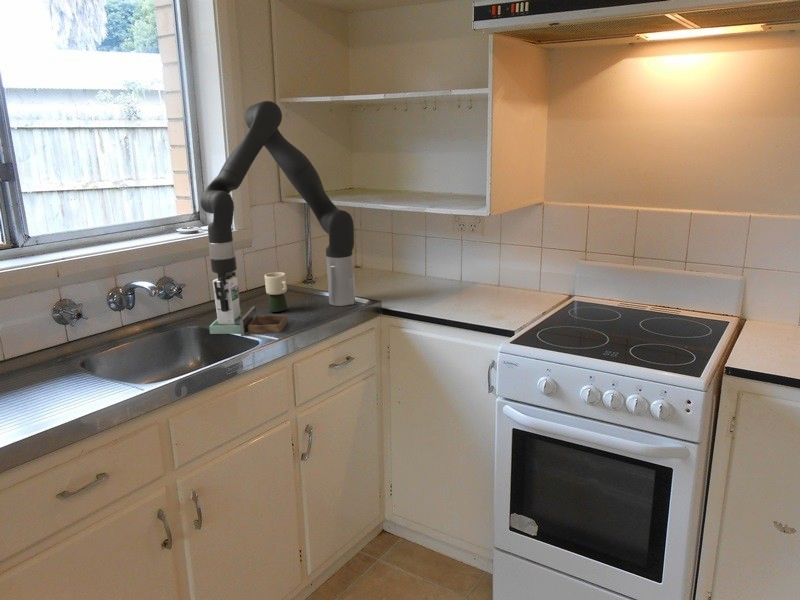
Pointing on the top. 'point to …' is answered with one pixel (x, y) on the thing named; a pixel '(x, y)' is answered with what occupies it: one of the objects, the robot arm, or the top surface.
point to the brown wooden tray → (267, 320)
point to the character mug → (276, 291)
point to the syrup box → (229, 303)
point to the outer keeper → (224, 328)
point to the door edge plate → (247, 320)
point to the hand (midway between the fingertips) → (228, 308)
